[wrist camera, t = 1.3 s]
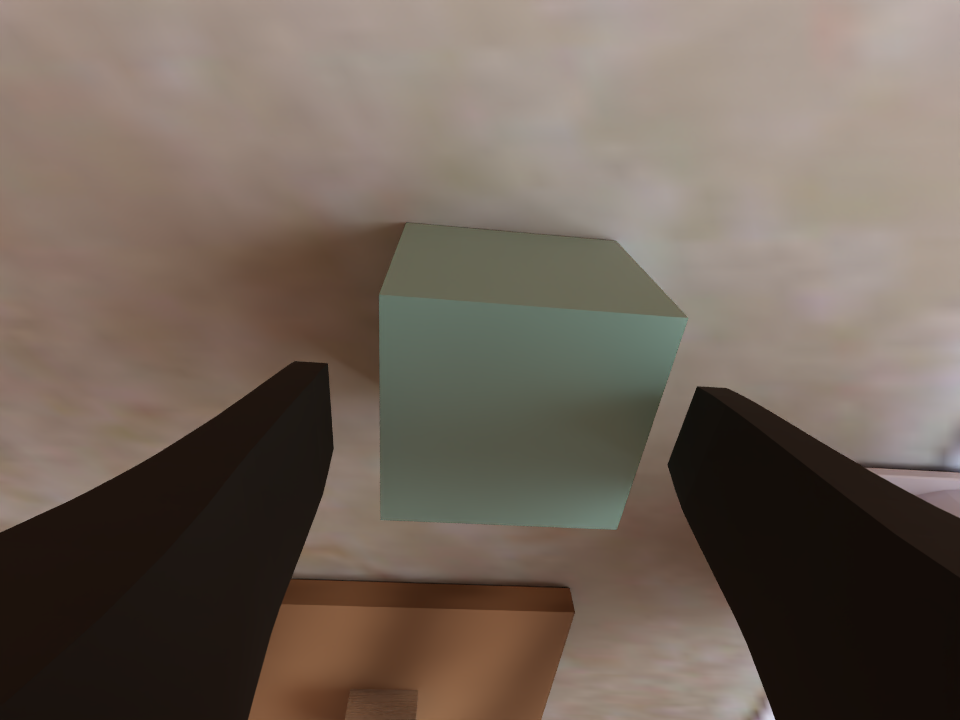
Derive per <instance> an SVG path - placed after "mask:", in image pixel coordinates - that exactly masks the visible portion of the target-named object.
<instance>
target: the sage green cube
mask: <svg viewBox="0 0 960 720" xmlns="http://www.w3.org/2000/svg"><path fill="white" fill-rule="evenodd" d="M687 321H688V317H687V316H686V315H685V314H684V313H683V312H682V311H681V310H680V309H679V308H678V307H677V305H676V304H675V303H674V302H673V301H672V300H671V299H670V298H669V297H668V296H667V295H666V294H665V293H664V292H663V290H662V289H661V288H660V287H659V286H658V285H657V284H656V283H655V282H654V281H653V280H652V279H651V278H650V277H649V275H648V274H647V273H646V272H645V271H644V270H643V269H642V268H641V267H640V266H639V265H638V264H637V263H636V262H635V260H634V259H633V258H632V257H631V256H630V255H629V254H628V253H627V252H626V251H625V250H624V249H623V248H622V247H621V246H620V244H619V243H618V242H617V241H611V240H600V239H588V238H577V237H566V236H554V235H543V234H531V233H520V232H508V231H497V230H485V229H474V228H462V227H451V226H440V225H428V224H417V223H406V224H405V227H404V230H403V232H402V235H401V238H400V240H399V243H398V246H397V248H396V251H395V253H394V256H393V259H392V261H391V264H390V267H389V269H388V272H387V275H386V277H385V280H384V283H383V285H382V288H381V291H380V293H379V369H380V514H381V520H393V521H417V522H441V523H465V524H489V525H514V526H538V527H562V528H586V529H610V530H617V528H618V525H619V522H620V519H621V516H622V513H623V510H624V507H625V504H626V501H627V498H628V495H629V492H630V489H631V486H632V483H633V480H634V477H635V474H636V471H637V468H638V466H639V463H640V460H641V457H642V454H643V451H644V448H645V445H646V442H647V439H648V436H649V433H650V430H651V427H652V424H653V421H654V418H655V415H656V412H657V409H658V406H659V403H660V400H661V398H662V395H663V392H664V389H665V386H666V383H667V380H668V377H669V374H670V371H671V368H672V365H673V362H674V359H675V356H676V353H677V350H678V347H679V344H680V341H681V338H682V335H683V332H684V330H685V327H686V324H687Z"/></svg>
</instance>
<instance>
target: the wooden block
mask: <svg viewBox="0 0 960 720" xmlns="http://www.w3.org/2000/svg"><path fill="white" fill-rule="evenodd" d="M417 701H418V690H382V689H350V694H349V699H348V705H347V710H346V716H345V720H416V717H417Z"/></svg>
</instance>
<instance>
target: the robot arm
mask: <svg viewBox="0 0 960 720" xmlns="http://www.w3.org/2000/svg"><path fill="white" fill-rule="evenodd" d="M333 449H334V446H333V432H332V417H331V402H330V388H329V373H328V363H313V362H297V361H294V362H293V363H291V364H290V365H288V366H287V367H285V368H284V369H282V370H281V371H279V372H278V373H277V374H275V375H274V376H272V377H271V378H270V379H268V380H267V381H266V382H264V383H263V384H261V385H260V386H259V387H257V388H256V389H254V390H253V391H252V392H250V393H249V394H247V395H246V396H245V397H243V398H242V399H240V400H239V401H237V402H236V403H235V404H233V405H232V406H230V407H229V408H227V409H226V410H225V411H223V412H222V413H220V414H219V415H217V416H216V417H215V418H213V419H211V420H210V421H208V422H207V423H205V424H204V425H202V426H200V427H199V428H197V429H196V430H194V431H193V432H191V433H189V434H188V435H186V436H185V437H183V438H182V439H180V440H178V441H177V442H175V443H174V444H172V445H170V446H169V447H167V448H166V449H164V450H163V451H161V452H159V453H158V454H156V455H154V456H152V457H151V458H149V459H147V460H146V461H144V462H142V463H140V464H139V465H137V466H135V467H133V468H131V469H130V470H128V471H126V472H124V473H122V474H120V475H119V476H117V477H115V478H113V479H111V480H109V481H107V482H105V483H103V484H102V485H100V486H98V487H96V488H94V489H92V490H90V491H88V492H86V493H84V494H82V495H80V496H78V497H76V498H74V499H72V500H70V501H68V502H66V503H64V504H62V505H59V506H57V507H55V508H53V509H51V510H49V511H46V512H44V513H42V514H40V515H38V516H36V517H33V518H31V519H29V520H27V521H25V522H23V523H20V524H18V525H16V526H14V527H12V528H10V529H7V530H5V531H3V532H1V533H0V720H248V718H249V714H250V710H251V706H252V703H253V699H254V695H255V691H256V688H257V684H258V680H259V677H260V673H261V669H262V666H263V662H264V659H265V655H266V651H267V648H268V644H269V640H270V637H271V633H272V630H273V627H274V624H275V621H276V618H277V615H278V612H279V609H280V606H281V604H282V601H283V599H284V596H285V593H286V591H287V588H288V585H289V583H290V580H291V578H292V575H293V572H294V570H295V567H296V564H297V562H298V559H299V557H300V554H301V551H302V549H303V546H304V543H305V541H306V538H307V536H308V533H309V530H310V528H311V525H312V522H313V520H314V517H315V514H316V512H317V509H318V506H319V503H320V501H321V498H322V495H323V491H324V487H325V483H326V479H327V475H328V471H329V467H330V462H331V458H332V453H333ZM668 468H669V471H670V474H671V478H672V481H673V484H674V487H675V491H676V493H677V496H678V499H679V502H680V505H681V508H682V510H683V512H684V515H685V517H686V519H687V521H688V523H689V525H690V527H691V529H692V531H693V533H694V535H695V538H696V540H697V542H698V544H699V546H700V548H701V550H702V552H703V554H704V556H705V558H706V560H707V562H708V564H709V566H710V568H711V570H712V572H713V574H714V576H715V578H716V580H717V582H718V584H719V586H720V588H721V590H722V592H723V594H724V596H725V598H726V600H727V602H728V604H729V606H730V608H731V610H732V612H733V614H734V616H735V618H736V620H737V623H738V625H739V627H740V629H741V632H742V634H743V636H744V638H745V640H746V643H747V645H748V648H749V650H750V653H751V656H752V658H753V661H754V664H755V666H756V669H757V671H758V674H759V677H760V679H761V682H762V685H763V687H764V690H765V692H766V695H767V698H768V700H769V703H770V706H771V709H772V712H773V715H774V717H775V720H960V473H956V472H938V471H919V470H900V469H882V468H864V467H863V466H861V465H859V464H857V463H856V462H854V461H852V460H850V459H849V458H847V457H845V456H844V455H842V454H840V453H838V452H837V451H835V450H833V449H832V448H830V447H828V446H827V445H825V444H823V443H822V442H820V441H818V440H817V439H815V438H813V437H812V436H810V435H808V434H807V433H805V432H803V431H802V430H800V429H798V428H797V427H795V426H794V425H792V424H790V423H789V422H787V421H785V420H784V419H782V418H780V417H779V416H777V415H775V414H774V413H772V412H770V411H769V410H767V409H765V408H763V407H762V406H760V405H758V404H756V403H755V402H753V401H751V400H749V399H747V398H746V397H744V396H742V395H740V394H738V393H736V392H734V391H732V390H729V389H727V388H715V387H699V386H697V388H696V391H695V393H694V396H693V399H692V401H691V404H690V407H689V409H688V412H687V415H686V417H685V420H684V422H683V425H682V428H681V430H680V433H679V436H678V438H677V441H676V444H675V446H674V449H673V452H672V454H671V457H670V459H669V462H668Z"/></svg>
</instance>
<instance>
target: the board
mask: <svg viewBox="0 0 960 720" xmlns="http://www.w3.org/2000/svg"><path fill="white" fill-rule="evenodd" d="M574 614H575V611H574V606H573V601H572V597H571V592H570V588H549V587H518V586H486V585H455V584H424V583H393V582H361V581H330V580H299V579H291V580H290V583H289V585H288V588H287V591H286V593H285V596H284V599H283V601H282V604H281V606H280V609H279V612H278V615H277V618H276V621H275V624H274V627H273V630H272V633H271V637H270V640H269V644H268V648H267V651H266V655H265V659H264V662H263V666H262V669H261V673H260V677H259V680H258V684H257V688H256V691H255V695H254V699H253V703H252V706H251V710H250V714H249V718H248V720H345V716H346V710H347V705H348V699H349V694H350V689H382V690H418V701H417V717H416V720H541V718H542V715H543V712H544V709H545V706H546V702H547V699H548V696H549V693H550V690H551V687H552V683H553V680H554V677H555V674H556V671H557V668H558V664H559V661H560V658H561V655H562V652H563V648H564V645H565V642H566V639H567V636H568V633H569V629H570V626H571V623H572V620H573V617H574Z"/></svg>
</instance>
